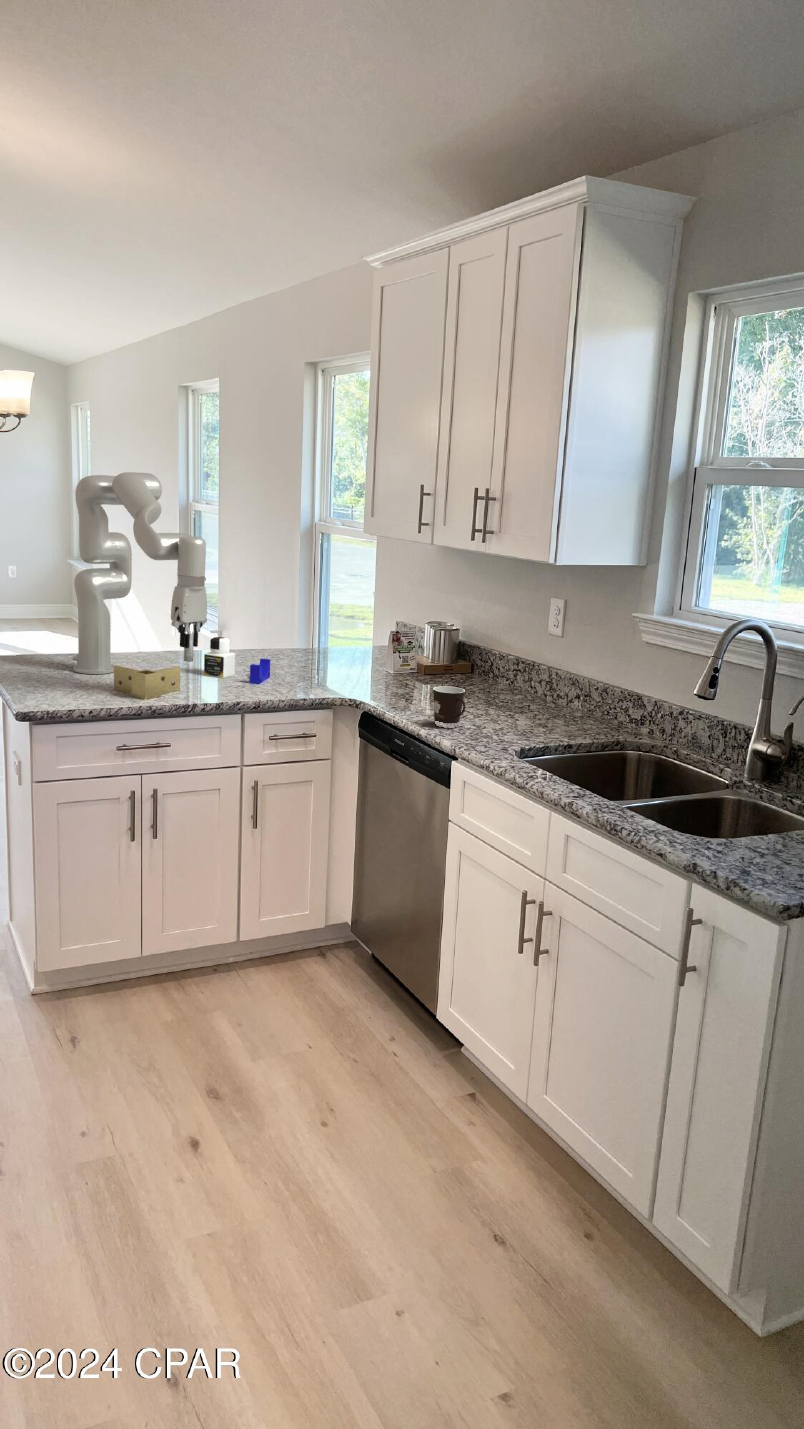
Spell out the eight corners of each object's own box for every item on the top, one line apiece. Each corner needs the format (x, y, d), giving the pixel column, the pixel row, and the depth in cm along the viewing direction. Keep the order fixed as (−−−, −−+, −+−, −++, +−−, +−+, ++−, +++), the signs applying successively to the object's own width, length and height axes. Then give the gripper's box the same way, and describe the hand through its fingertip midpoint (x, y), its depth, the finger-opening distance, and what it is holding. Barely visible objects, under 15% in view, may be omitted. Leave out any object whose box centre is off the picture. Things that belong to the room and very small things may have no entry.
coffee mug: (428, 721, 284) (431, 685, 282) (460, 722, 285) (462, 687, 283) (433, 731, 273) (436, 694, 271) (466, 733, 274) (468, 696, 272)
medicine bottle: (203, 675, 325) (204, 637, 323) (215, 672, 332) (216, 635, 329) (223, 678, 323) (224, 640, 320) (235, 675, 329) (236, 637, 327)
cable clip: (256, 676, 330) (256, 658, 329) (269, 677, 330) (270, 659, 328) (244, 683, 319) (245, 664, 317) (259, 685, 318) (259, 665, 317)
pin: (179, 660, 293) (181, 614, 290) (188, 659, 296) (189, 613, 292) (188, 662, 291) (189, 616, 288) (196, 661, 294) (198, 615, 291)
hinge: (107, 690, 297) (107, 666, 295) (148, 683, 309) (148, 660, 308) (145, 699, 288) (145, 675, 287) (186, 692, 301) (186, 668, 299)
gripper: (201, 578, 296) (199, 641, 301) (159, 581, 283) (157, 647, 288) (221, 581, 292) (218, 646, 297) (179, 585, 279) (177, 652, 284)
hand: (188, 646), depth 292 cm, fingers closed on pin, 2 cm apart
